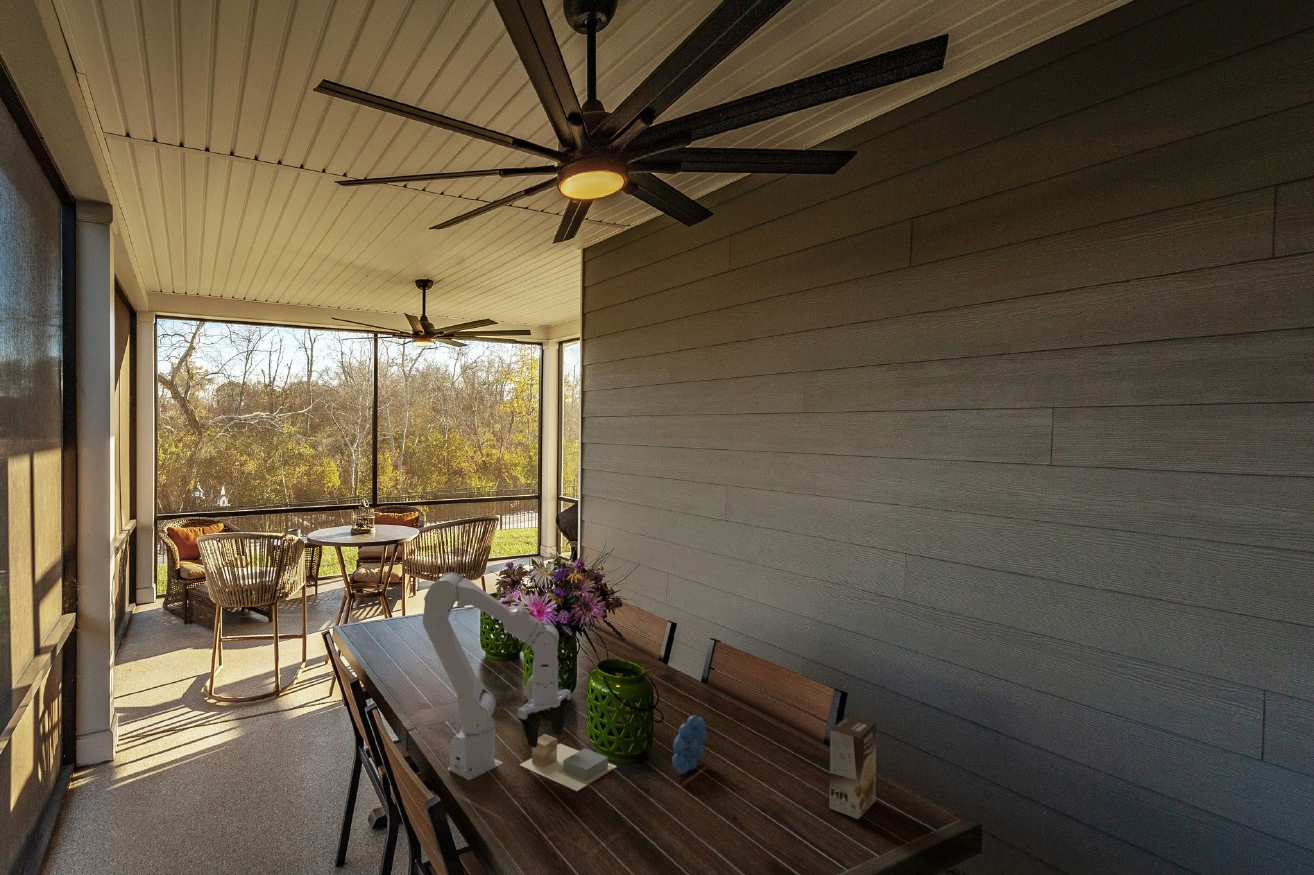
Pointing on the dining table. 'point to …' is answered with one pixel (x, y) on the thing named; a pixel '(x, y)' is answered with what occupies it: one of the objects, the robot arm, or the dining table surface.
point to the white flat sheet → (556, 769)
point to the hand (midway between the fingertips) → (545, 739)
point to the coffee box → (852, 766)
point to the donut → (530, 690)
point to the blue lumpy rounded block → (689, 744)
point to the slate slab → (585, 764)
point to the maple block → (545, 751)
